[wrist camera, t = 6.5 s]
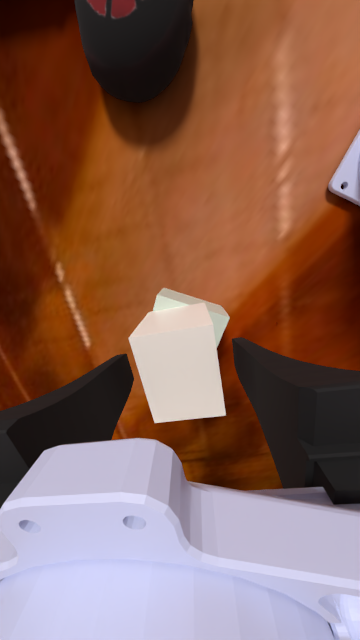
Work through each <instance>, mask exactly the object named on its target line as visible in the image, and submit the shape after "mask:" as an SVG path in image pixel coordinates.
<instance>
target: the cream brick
mask: <svg viewBox="0 0 360 640" xmlns="http://www.w3.org/2000/svg"><path fill="white" fill-rule="evenodd" d="M129 341H130V344H131V348H132V351H133V354H134V358H135V361H136V364H137V367H138V371H139V374H140V377H141V380H142V384H143V387H144V390H145V393H146V397H147V400H148V403H149V406H150V410H151V413H152V416H153V419H154V423H160V422H169V421H179V420H188V419H198V418H207V417H217V416H226V413H225V406H224V398H223V391H222V384H221V377H220V370H219V363H218V356H217V348H216V341H215V334H214V327H213V323H212V320H211V318H210V315H209V313H208V310H207V307H206V305H205V302H204V303H198V304H193V305H187V306H181V307H175V308H170V309H164V310H158V311H153V312H149V313H148V314H147V315H146V316H145V318H144V319H143V320H142V321H141V323H140V324H139V325H138V327H137V328H136V329H135V330H134V332H133V333H132V334H131V335H130V337H129Z"/></svg>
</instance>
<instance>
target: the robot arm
mask: <svg viewBox="0 0 360 640" xmlns="http://www.w3.org/2000/svg"><path fill="white" fill-rule="evenodd" d="M341 184H343V185H344V188H343V190H342V189H341ZM328 188H329V190H330V191H331V192H332V193H334V194H336V195H338V196H340V197H343V198H345V199H347V200H349V201H351V202H353V203H355V204H357V205H359V206H360V130H359V132H358V133H357V135H356V137H355V139H354V140H353V142H352V144H351V146H350V147H349V149H348V151H347V153H346V154H345V156H344V158H343V160H342V161H341V163H340V165H339V167H338V168H337V170H336V172H335V174H334V175H333V177H332V179H331V181H330V183H329V186H328ZM232 343H233V353H234V364H235V368H236V371H237V374H238V377H239V380H240V382H241V384H242V386H243V388H244V390H245V392H246V394H247V396H248V398H249V400H250V402H251V404H252V406H253V408H254V410H255V412H256V414H257V416H258V419H259V422H260V424H261V427H262V429H263V432H264V435H265V438H266V440H267V443H268V446H269V448H270V451H271V454H272V457H273V460H274V462H275V465H276V468H277V471H278V474H279V477H280V480H281V483H282V486H283V489H271V490H253V491H242V490H236V489H230V488H224V487H219V486H213V485H207V484H201V483H195V482H189V481H187V480H186V478H185V475H184V471H183V467H182V463H181V461H180V460H179V458H178V457H177V455H176V454H175V452H174V451H173V449H171V448H170V447H168V446H167V445H165V444H163V443H161V442H159V441H157V440H154V439H145V438H130V439H119V440H111V439H112V436H113V433H114V430H115V427H116V424H117V422H118V420H119V417H120V415H121V413H122V411H123V408H124V406H125V404H126V401H127V399H128V397H129V394H130V392H131V388H132V385H133V381H134V377H133V374H132V370H131V367H130V364H129V361H128V357H127V354H120V355H116V356H114V357H113V358H111V359H109V360H107V361H106V362H104V363H103V364H101V365H99V366H98V367H96V368H95V369H93V370H92V371H90V372H88V373H87V374H85V375H83V376H82V377H80V378H78V379H76V380H75V381H73V382H71V383H69V384H67V385H65V386H63V387H61V388H59V389H57V390H55V391H52V392H50V393H48V394H45V395H43V396H41V397H39V398H36V399H34V400H31V401H28V402H26V403H23V404H20V405H18V406H15V407H12V408H9V409H6V410H3V411H0V640H360V371H353V370H344V369H338V368H332V367H325V366H320V365H315V364H311V363H307V362H302V361H299V360H295V359H292V358H289V357H285V356H282V355H280V354H277V353H275V352H272V351H270V350H267V349H265V348H263V347H261V346H259V345H257V344H255V343H253V342H251V341H249V340H247V339H245V338H242V337H241V338H234V339H232Z"/></svg>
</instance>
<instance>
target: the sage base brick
mask: <svg viewBox="0 0 360 640" xmlns="http://www.w3.org/2000/svg"><path fill="white" fill-rule="evenodd" d="M204 302H205V305H206V307H207V310H208V313H209V315H210V318H211V320H212V323H213V327H214V334H215V341H216V348H217V347H218V344H219V342H220V339H221V337H222V335H223V332H224V330H225V328H226V325H227V323H228V321H229V318H230V317H229V316H228V314H227V313H226V311H225V310H224V309H223V307H222V306H220V305H217V304H214V303H211V302H207V301H204V300H201V299H198V298H195V297H192V296H188V295H185V294H182V293H179V292H176V291H172V290H169V289H166V288H163V289H162V290H161V291H160V292H159V293H158V294H157V297H156V301H155V305H154V309H153V311H158V310H164V309H170V308H175V307H181V306H187V305H193V304H198V303H204Z"/></svg>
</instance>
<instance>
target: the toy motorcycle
mask: <svg viewBox="0 0 360 640" xmlns="http://www.w3.org/2000/svg"><path fill="white" fill-rule="evenodd" d="M192 6H193V0H75V7H76V14H77V19H78V23H79V28H80V34H81V40H82V45H83V49H84V52H85V55H86V58H87V61H88V63H89V66H90V69H91V72H92V75H93V76H94V78H95V79H96V80H97V81H98V83H99V84H100V85H101V86H102V88H103V89H104V90H105V91H107V92H108V93H109V94H110V95H112V96H114V97H116V98H118V99H121V100H126V101H130V102H145V101H148V100H150V99H152V98H154V97H155V96H157V95H158V94H159V93H161V92H162V91H163V90H164V89H165V88H166V87H167V86H168V85H169V84H170V82H171V81H172V80H173V78H174V77H175V75H176V73H177V71H178V69H179V67H180V65H181V62H182V59H183V56H184V52H185V50H186V47H187V45H188V41H189V38H190V33H191V28H192V18H191V12H192Z"/></svg>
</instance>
